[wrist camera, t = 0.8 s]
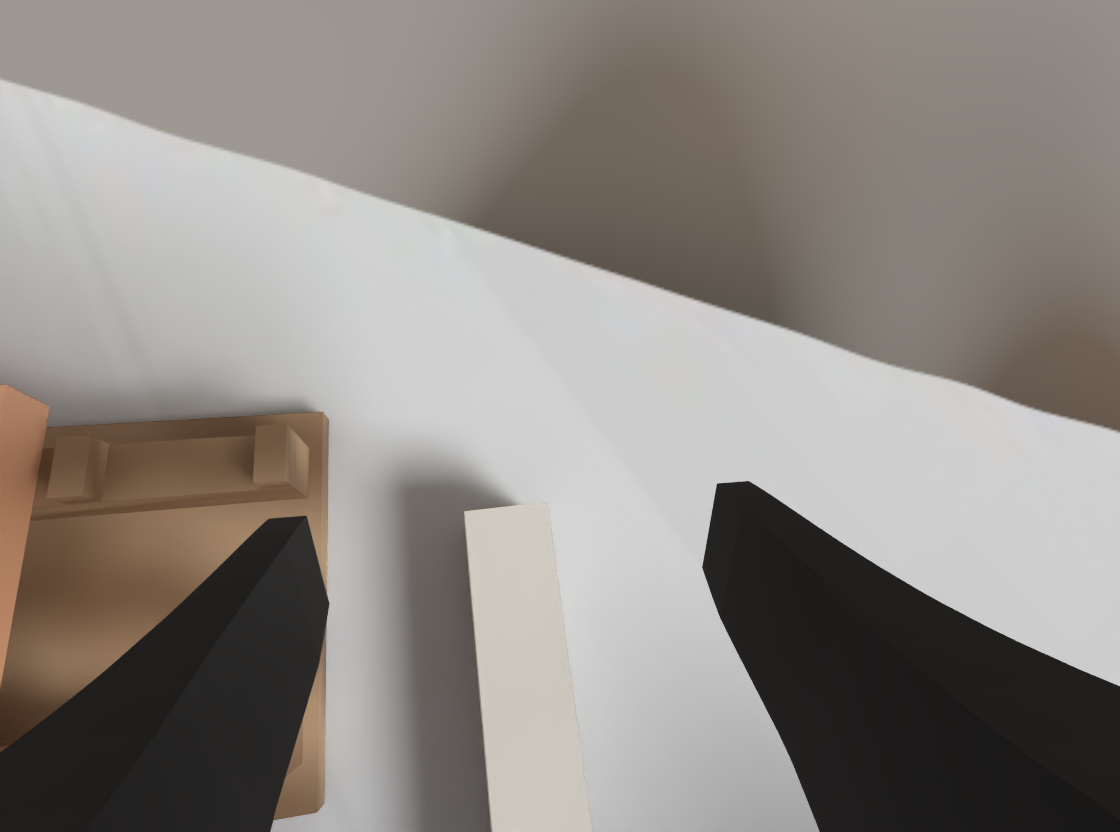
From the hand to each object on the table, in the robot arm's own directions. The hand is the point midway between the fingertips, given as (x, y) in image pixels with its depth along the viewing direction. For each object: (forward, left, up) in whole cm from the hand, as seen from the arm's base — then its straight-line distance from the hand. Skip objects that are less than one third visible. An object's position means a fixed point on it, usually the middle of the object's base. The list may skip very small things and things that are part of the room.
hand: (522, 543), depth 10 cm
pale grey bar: (-4, -1, -14) cm, 15 cm away
